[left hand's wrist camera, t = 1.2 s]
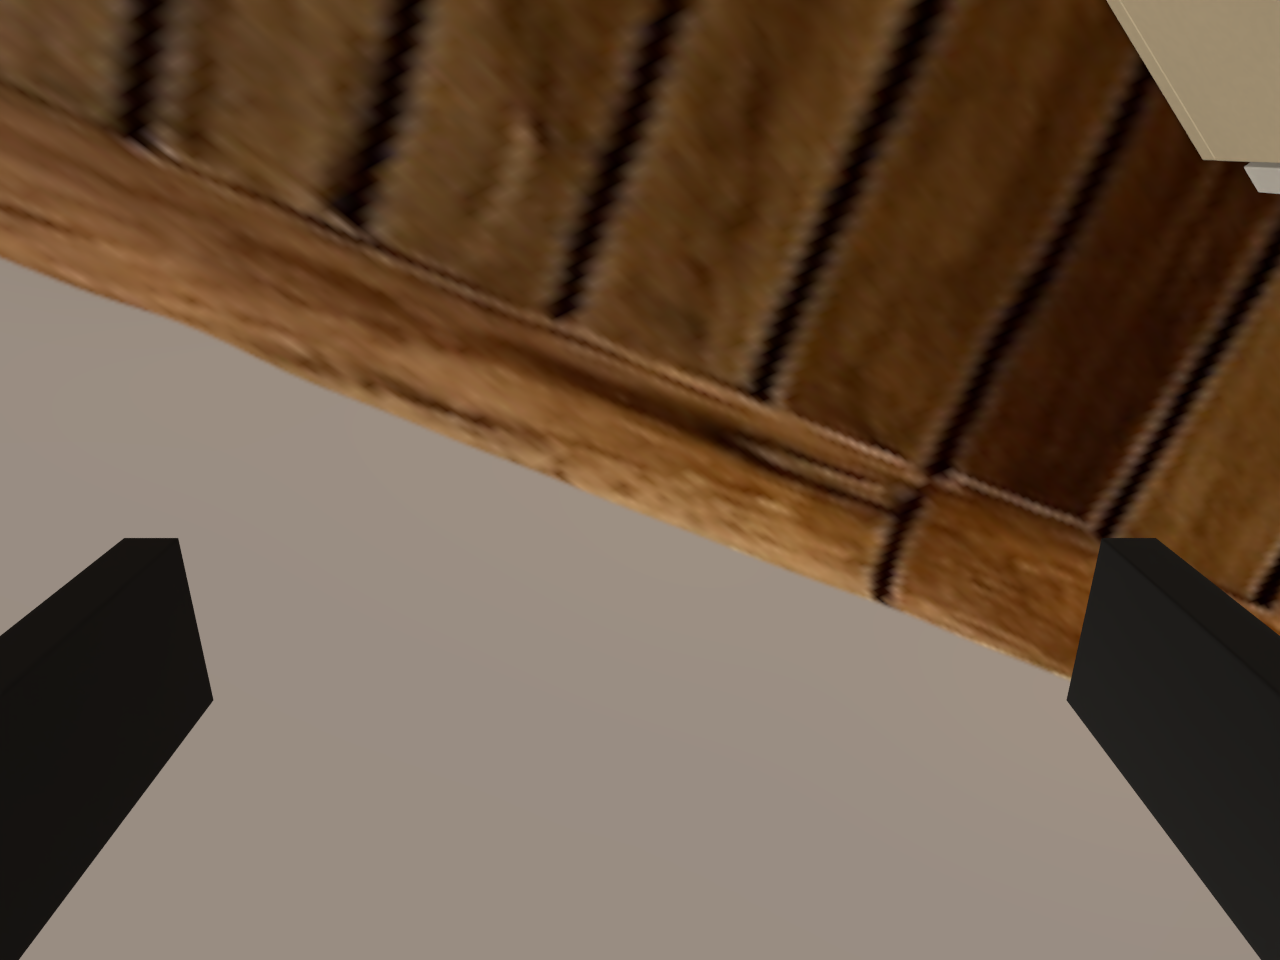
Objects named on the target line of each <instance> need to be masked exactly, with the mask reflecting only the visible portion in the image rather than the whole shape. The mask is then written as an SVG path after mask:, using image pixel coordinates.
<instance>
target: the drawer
mask: <svg viewBox="0 0 1280 960" xmlns="http://www.w3.org/2000/svg"><path fill="white" fill-rule="evenodd" d="M1244 169H1245V170H1246V172H1247V174H1248V175H1249V177H1250V179H1251V180H1252V182H1253V184H1254V185H1255V187H1256V189H1257V191H1258V192H1263V193H1275V194H1280V163H1271V162H1250V163H1249V164H1247V165H1246V166H1245V167H1244Z"/></svg>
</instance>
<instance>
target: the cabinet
mask: <svg viewBox="0 0 1280 960" xmlns="http://www.w3.org/2000/svg"><path fill="white" fill-rule="evenodd" d="M1106 1H1107V2H1108V4H1109V5H1110V7H1111V9H1112V10H1113V12H1114V14H1115V15H1116V17H1117V19H1118V20H1119V22H1120V24H1121V25H1122V27H1123V29H1124V30H1125V32H1126V34H1127V35H1128V37H1129V39H1130V40H1131V42H1132V43H1133V45H1134V47H1135V48H1136V50H1137V52H1138V53H1139V55H1140V57H1141V58H1142V60H1143V62H1144V63H1145V65H1146V67H1147V68H1148V70H1149V72H1150V73H1151V75H1152V76H1153V78H1154V80H1155V81H1156V83H1157V85H1158V86H1159V88H1160V90H1161V91H1162V93H1163V95H1164V96H1165V98H1166V100H1167V101H1168V103H1169V105H1170V106H1171V108H1172V110H1173V111H1174V113H1175V114H1176V116H1177V118H1178V119H1179V121H1180V123H1181V124H1182V126H1183V128H1184V129H1185V131H1186V133H1187V134H1188V136H1189V138H1190V139H1191V141H1192V143H1193V144H1194V146H1195V148H1196V149H1197V151H1198V152H1199V154H1200V156H1201V157H1202V159H1203V160H1217V161H1242V162H1271V163H1280V0H1106Z"/></svg>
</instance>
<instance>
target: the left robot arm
mask: <svg viewBox="0 0 1280 960" xmlns="http://www.w3.org/2000/svg"><path fill="white" fill-rule="evenodd" d="M212 701H213V696H212V692H211V687H210V683H209V678H208V673H207V669H206V664H205V660H204V655H203V650H202V646H201V641H200V637H199V632H198V627H197V623H196V618H195V614H194V609H193V604H192V600H191V595H190V591H189V586H188V581H187V577H186V572H185V568H184V563H183V559H182V554H181V549H180V545H179V540H178V538H124V539H123V540H121V541H120V542H119V543H117V544H116V545H115V546H114V547H112V548H111V549H110V550H109V551H107V552H106V553H105V554H104V555H102V556H101V557H100V558H98V559H97V560H96V561H95V562H93V563H92V564H91V565H90V566H88V567H87V568H86V569H85V570H83V571H82V572H81V573H79V574H78V575H77V576H76V577H74V578H73V579H72V580H71V581H69V582H68V583H67V584H66V585H64V586H63V587H62V588H60V589H59V590H58V591H57V592H55V593H54V594H53V595H52V596H50V597H49V598H48V599H47V600H45V601H44V602H43V603H42V604H40V605H39V606H38V607H36V608H35V609H34V610H33V611H31V612H30V613H29V614H28V615H26V616H25V617H24V618H23V619H21V620H20V621H19V622H17V623H16V624H15V625H14V626H12V627H11V628H10V629H9V630H7V631H6V632H5V633H4V634H2V635H1V636H0V960H19V959H20V957H21V956H22V955H23V953H24V952H25V951H26V949H27V948H28V947H29V945H30V944H31V943H32V941H33V940H34V939H35V937H36V936H37V935H38V933H39V932H40V931H41V929H42V928H43V927H44V925H45V924H46V923H47V921H48V920H49V919H50V917H51V916H52V915H53V913H54V912H55V911H56V909H57V908H58V907H59V905H60V904H61V903H62V901H63V900H64V899H65V897H66V896H67V895H68V893H69V892H70V891H71V889H72V888H73V887H74V885H75V884H76V883H77V881H78V880H79V879H80V877H81V876H82V875H83V873H84V872H85V871H86V869H87V868H88V867H89V865H90V864H91V863H92V861H93V860H94V859H95V857H96V856H97V855H98V853H99V852H100V851H101V849H102V848H103V847H104V845H105V844H106V843H107V841H108V840H109V839H110V837H111V836H112V835H113V833H114V832H115V831H116V829H117V828H118V827H119V825H120V824H121V823H122V821H123V820H124V819H125V817H126V816H127V815H128V813H129V812H130V811H131V809H132V808H133V807H134V805H135V804H136V803H137V801H138V800H139V799H140V797H141V796H142V795H143V793H144V792H145V791H146V789H147V788H148V787H149V785H150V784H151V783H152V781H153V780H154V779H155V777H156V776H157V775H158V773H159V772H160V771H161V769H162V768H163V767H164V765H165V764H166V763H167V761H168V760H169V759H170V757H171V756H172V755H173V753H174V752H175V751H176V749H177V748H178V747H179V745H180V744H181V743H182V741H183V740H184V739H185V737H186V736H187V735H188V733H189V732H190V731H191V729H192V728H193V727H194V725H195V724H196V723H197V721H198V720H199V719H200V717H201V716H202V715H203V713H204V712H205V711H206V709H207V708H208V707H209V705H210V704H211V703H212ZM1067 701H1068V703H1069V704H1070V705H1071V707H1072V708H1073V709H1074V711H1075V712H1076V713H1077V715H1078V716H1079V717H1080V719H1081V720H1082V721H1083V723H1084V724H1085V725H1086V727H1087V728H1088V729H1089V731H1090V732H1091V733H1092V735H1093V736H1094V737H1095V739H1096V740H1097V741H1098V743H1099V744H1100V745H1101V747H1102V748H1103V749H1104V751H1105V752H1106V753H1107V755H1108V756H1109V757H1110V759H1111V760H1112V761H1113V763H1114V764H1115V765H1116V767H1117V768H1118V769H1119V771H1120V772H1121V773H1122V775H1123V776H1124V777H1125V779H1126V780H1127V781H1128V783H1129V784H1130V785H1131V787H1132V788H1133V789H1134V791H1135V792H1136V793H1137V795H1138V796H1139V797H1140V799H1141V800H1142V801H1143V803H1144V804H1145V805H1146V807H1147V808H1148V809H1149V811H1150V812H1151V813H1152V815H1153V816H1154V817H1155V819H1156V820H1157V821H1158V823H1159V824H1160V825H1161V827H1162V828H1163V829H1164V831H1165V832H1166V833H1167V835H1168V836H1169V837H1170V839H1171V840H1172V841H1173V843H1174V844H1175V845H1176V847H1177V848H1178V849H1179V851H1180V852H1181V853H1182V855H1183V856H1184V857H1185V859H1186V860H1187V861H1188V863H1189V864H1190V865H1191V867H1192V868H1193V869H1194V871H1195V872H1196V873H1197V875H1198V876H1199V877H1200V879H1201V880H1202V881H1203V883H1204V884H1205V885H1206V887H1207V888H1208V889H1209V891H1210V892H1211V893H1212V895H1213V896H1214V897H1215V899H1216V900H1217V901H1218V903H1219V904H1220V905H1221V907H1222V908H1223V909H1224V911H1225V912H1226V913H1227V915H1228V916H1229V917H1230V919H1231V920H1232V921H1233V923H1234V924H1235V925H1236V927H1237V928H1238V929H1239V931H1240V932H1241V933H1242V935H1243V936H1244V937H1245V939H1246V940H1247V941H1248V943H1249V944H1250V945H1251V947H1252V948H1253V949H1254V951H1255V952H1256V953H1257V955H1258V956H1259V957H1260V959H1261V960H1280V636H1279V635H1278V634H1277V633H1275V632H1274V631H1273V630H1271V629H1270V628H1269V627H1268V626H1266V625H1265V624H1264V623H1263V622H1261V621H1260V620H1259V619H1258V618H1256V617H1255V616H1254V615H1252V614H1251V613H1250V612H1249V611H1247V610H1246V609H1245V608H1244V607H1242V606H1241V605H1240V604H1239V603H1237V602H1236V601H1235V600H1233V599H1232V598H1231V597H1230V596H1228V595H1227V594H1226V593H1225V592H1223V591H1222V590H1221V589H1220V588H1218V587H1217V586H1216V585H1214V584H1213V583H1212V582H1211V581H1209V580H1208V579H1207V578H1206V577H1204V576H1203V575H1202V574H1201V573H1199V572H1198V571H1197V570H1195V569H1194V568H1193V567H1192V566H1190V565H1189V564H1188V563H1187V562H1185V561H1184V560H1183V559H1182V558H1180V557H1179V556H1178V555H1176V554H1175V553H1174V552H1173V551H1171V550H1170V549H1169V548H1168V547H1166V546H1165V545H1164V544H1163V543H1161V542H1160V541H1159V540H1157V539H1156V538H1102V540H1101V545H1100V549H1099V554H1098V558H1097V563H1096V568H1095V572H1094V577H1093V581H1092V586H1091V591H1090V595H1089V600H1088V604H1087V609H1086V614H1085V618H1084V623H1083V627H1082V632H1081V637H1080V641H1079V646H1078V650H1077V655H1076V659H1075V664H1074V669H1073V673H1072V678H1071V682H1070V687H1069V692H1068V696H1067Z"/></svg>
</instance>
